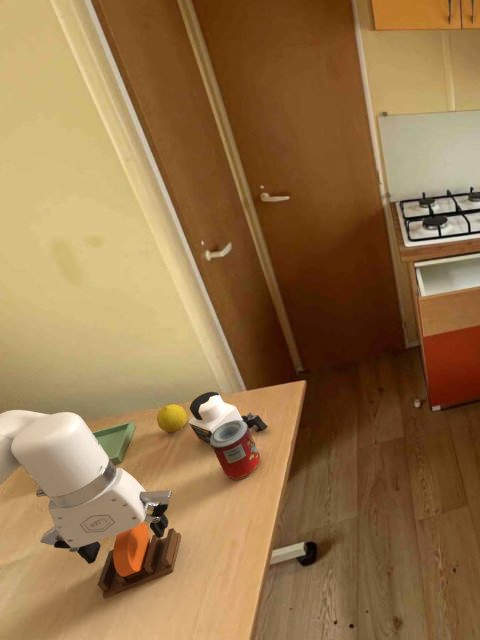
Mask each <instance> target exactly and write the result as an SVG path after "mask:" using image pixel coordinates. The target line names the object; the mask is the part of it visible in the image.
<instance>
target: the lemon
mask: <svg viewBox="0 0 480 640" xmlns="http://www.w3.org/2000/svg"><path fill="white" fill-rule="evenodd" d="M187 421H188V414H187V411H186V410H185V409H184V407H182V406H181V405H179V404H175V403H172V404H168V405H165V406H163V407H162V408H161V409H160V410H159V411H158V413H157V415H156V422H157V425H158V427H159V428H160V429H161V430H162V431H164V432H166V433H174V432H177V431H180V430H181V429H183V428H184V426H185V425H186V423H187Z"/></svg>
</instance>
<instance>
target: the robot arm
mask: <svg viewBox="0 0 480 640" xmlns="http://www.w3.org/2000/svg"><path fill="white" fill-rule="evenodd" d="M92 432H93V431H91V429H90V428H89V427H88V424H87V423H86V422H85V421H84V419H83V418H82V417H81V416H80V415H78V414H77V413H74V412H69V411H63V412H57V413H52V414H50V413H43V412H38V411H37V412H36V411H31V410H24V409H12V410H6V411H3V412H1V413H0V487H1V486H2V485H3V484H4V483H6V481H7V480H8V479H9V478H10V477H11V476H13V474H15V473H16V471H17V470H18V469H19V468H20V467H23V469H24V470H25V471H26V472H27V473H28V475H29V476H30V477H31V479H32V480H33V481H34V482H35V483H36V485H37V486H38V488H37V489H36V491H35V495H36V497H37V498H41V497H47V498H48V499H49V500H50V501H48V505H47V506H48V511H49V515H50V517H51V520H52V523H53V526H52V527H50V528H49V529H48V530H46V531H45V532H44V533H43V534H42V537H41V538H40V541H39V542H40V543H41V544H44V545H49V546H53V547H54V548H55V549H63V550H64V549H66V550H68V552H69V553H75V552H77V553H78V555H79V556H80V557H81V558H82V559H84V561H86V563H87V564H88V565H91V564H93V563H94V562H96V560H97V558H98V555H99V552H100V549H101V546H102V545H101V543H100V542H99V541H102V540H105V539H108V538H110V537H113V536H117V535H118V534H119V533H122V532H124V531H127V530H130V529H132V528H135V527H137V526H138V525H140V524H141V523H149V528H150V529H151V531H152V532H153V533H154V534H153V535H156V536H157V538H161V539H162V538H164V535H165V531H166V529H167V528H168V527H169V519H168V517H167V516H166V514H165V513H166V512H167V510H168V508H169V506H170V502H171V499H172V495H173V491H172V490H155V491H147V490H145V488H144V487H143V486H142V484H141V483H140V482H139V481H138V480H137V479H136V478H135V477H133V475H131V474H130V473H129V472H128V471H126V470H125V469H123V468H122V467H116V465H114V464H113V463H112V461H111V460H110V458H109V457H108V455H107V454H106V452H105V451H104V450H103V448H102V447H101V445H100V444H99V442H98V441H97V439H96V438H95V436H94V435H93V434H92ZM39 486H40V487H39ZM147 511H151V512H152V513H147Z"/></svg>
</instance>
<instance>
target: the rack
mask: <svg viewBox="0 0 480 640" xmlns="http://www.w3.org/2000/svg"><path fill="white" fill-rule="evenodd" d="M181 537H182V535H181V532H177V531H176V529H175V528H174V527H172V528H169V529H168V531H167V535H166V536H165V537H161V538H157V536H156V535H155V534H152V536H151V538H150V546H149V550H148V554H147V557H146V561H145V564H144V568H143V569H142V570H141V571H139V572H136V573H133V574H131V575H128V576H125V577H122V576H120V575H119V574H118V573H117V571H116V569H115V565H114V559H113V551H114V548H113V549H111V550H109V551H108V553H107V555H106V559H105V561H104V565H103V568H102V570H101V573H100V576H99V578H98V581H97V584H96V585H97V586H98V588H99V589H100V590H101V591H102V594H101V597H102V598H103V599H107V598H110V597H112V596H115V595H117V594H120V593H121V592H122V593H123V592H124V591H128V590H130V589H131V588H132V589H133V588H135V587H138V586H140V585H142V584H146V583H147V582H150V581H152V580H156V579H159V578H160V577H163V576H166V575H169V574H171V573H173V572H174V569H175V566H176V561H177V555H178V551H179V547H180V543H181Z"/></svg>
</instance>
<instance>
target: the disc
mask: <svg viewBox="0 0 480 640" xmlns="http://www.w3.org/2000/svg"><path fill="white" fill-rule="evenodd" d="M150 543H151V535H150V532H149V528H148V527H147V525H146V523H145V522H143V523H141V524H140V525H138V526H137V527H135V528H132V529H130V530H127V531H124V532H122V533H119V534H116V538H115V541H114V545H113V549H114V551H113V559H114V565H115V569H116V571H117V573H118V574H119V575H120V576H122V577H125V576H128V575H131V574H133V573H136V572H139V571H141V570H142V569H143V568H144V564H145V561H146V557H147V554H148V550H149V546H150Z"/></svg>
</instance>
